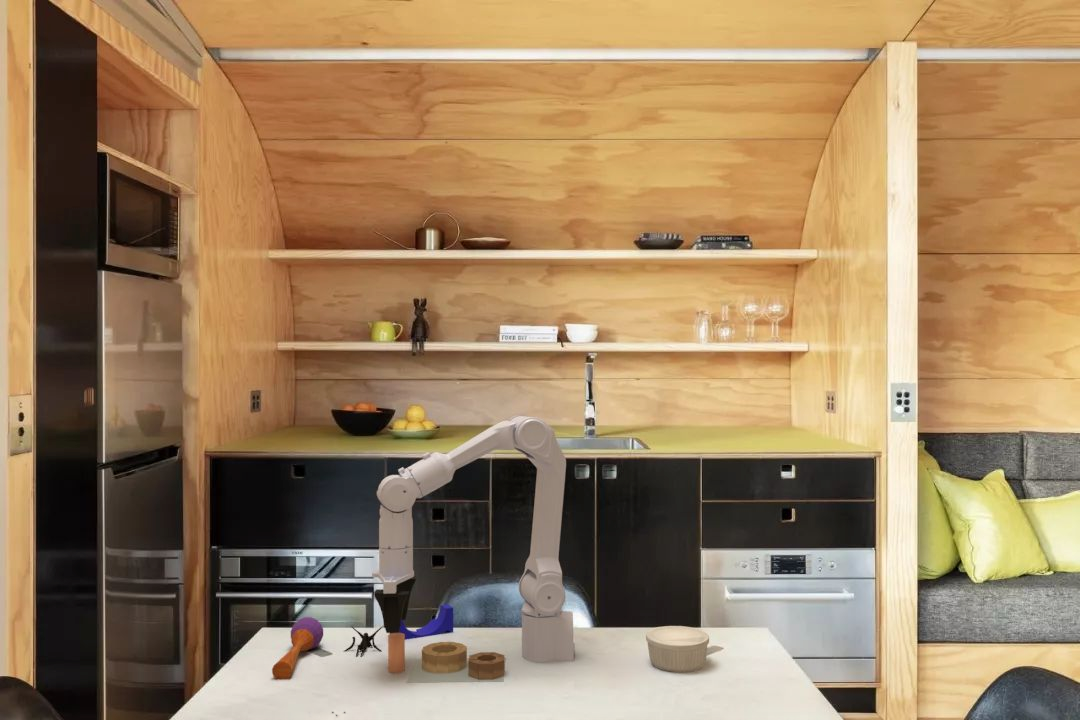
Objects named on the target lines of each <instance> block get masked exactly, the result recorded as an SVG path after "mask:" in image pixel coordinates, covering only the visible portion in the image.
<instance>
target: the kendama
mask: <svg viewBox="0 0 1080 720" xmlns="http://www.w3.org/2000/svg"><path fill="white" fill-rule="evenodd" d="M323 637H324V628H323V625H322V624H321V622H320V621H319V620H318V619H316V618H314V617H310V616H309V617H307V616H304V617H302V618H299V619H298V620H297V621H296V622H295V623H294V624H293V625H292V628H291V630H290V641H291V645H292V647H291V649H290V650H289V651H288V652H287V653H286V654H284V655H283V656H282V657H281V658H280V659H279V660H278V661H277V662H276V663H275V664H274V665H273V667H272V669H271V673H272V676H273V677H274V678H275V680H289V678H290V677H291V676H292V673H293V670H294V667H295V665H296V662H297V659H298V656H299V654H300V652H306V651H310V650H313V649H315V648H317V646H318V645H319V644H321V642H322V640H323ZM312 648H313V649H312ZM309 649H310V650H309Z"/></svg>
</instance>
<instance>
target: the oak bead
mask: <svg viewBox="0 0 1080 720" xmlns="http://www.w3.org/2000/svg"><path fill="white" fill-rule="evenodd" d="M467 649H468V646H467V645H465V644H464V643H460V642H455V641H439V642H433V643H432V642H431V643H429V644H426V645H424V646H423V647H422V649H421V659H422V669H424V670H425V671H426V672H431V673H436V674H438V673H453V672H458V671H461V670H463V669H465V668H466V666H467V658H468V654H467V653H468V650H467Z"/></svg>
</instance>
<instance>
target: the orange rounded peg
mask: <svg viewBox="0 0 1080 720" xmlns="http://www.w3.org/2000/svg"><path fill="white" fill-rule="evenodd" d="M405 642H406V640H405V634H403V633H392V634H390V633H388V636H387V644H388V645H387V651H388V656H387V658H388V659H387V661H388V662H387V664H388V665H387V668H388V669H387V672H388V673H390V674H401V673H402V674H403V673H404V672H405V671H406V649H405V648H406V644H405Z"/></svg>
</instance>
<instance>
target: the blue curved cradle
mask: <svg viewBox="0 0 1080 720" xmlns="http://www.w3.org/2000/svg"><path fill="white" fill-rule="evenodd" d="M399 633H403V634H405V641H406V640H413V639H418V638H425V637H426V638H427V637H431V636H438V635H443V634H444V633H449V634H450V633H454V607H453V606H451V605H450V604H447V603H446V604H441V605H440V608H439V612H438V615H437V617H436V618H433V619H431V620H430V621H429V622H428V623H427V624H426V625H424V626H423V627H420V628H416V629H415V631H414V630H410V629H408V628H407V627H406V625H405V622H404V620H401V626H400V630H399ZM389 634H392V633H389Z"/></svg>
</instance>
